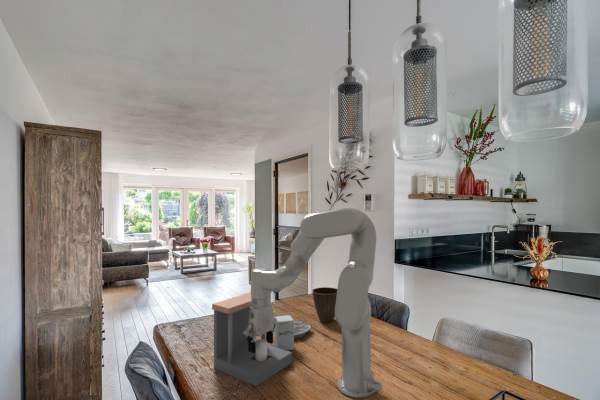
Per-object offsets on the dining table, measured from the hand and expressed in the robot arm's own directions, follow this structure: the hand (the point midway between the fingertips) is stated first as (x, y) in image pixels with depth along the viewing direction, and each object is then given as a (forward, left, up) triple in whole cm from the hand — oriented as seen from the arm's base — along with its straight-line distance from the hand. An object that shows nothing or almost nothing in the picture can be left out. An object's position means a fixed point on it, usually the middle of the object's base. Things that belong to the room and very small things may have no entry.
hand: (261, 347), depth 118 cm
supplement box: (+4, -19, -8) cm, 21 cm away
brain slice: (+11, -35, -8) cm, 38 cm away
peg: (0, 0, -8) cm, 8 cm away
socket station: (+4, 0, -8) cm, 9 cm away
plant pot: (+6, -58, -8) cm, 59 cm away
